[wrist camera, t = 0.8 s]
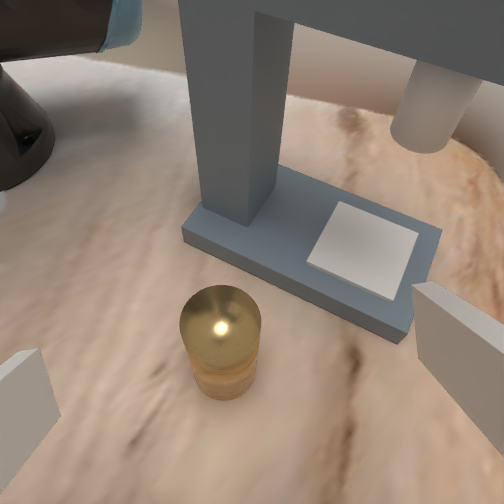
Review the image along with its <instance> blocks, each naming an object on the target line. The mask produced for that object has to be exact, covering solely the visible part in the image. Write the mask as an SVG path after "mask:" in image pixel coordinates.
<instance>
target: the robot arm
mask: <svg viewBox="0 0 504 504" xmlns="http://www.w3.org/2000/svg"><path fill="white" fill-rule="evenodd" d="M141 25H142V0H0V63H1V62H9V61H18V60H28V59H37V58H47V57H56V56H66V55H75V54H84V53H94V52H96V53H102V52H103V51H105V50H107V49H112V48H117V47H123V46H127V45H130V44H132V43H133V42H134V41H135V40H136V39H137V38H138V36H139V34H140V31H141ZM53 145H54V132H53V129H52V126H51V124H50V122H49V120H48V118H47V116H46V114H45V113H44V111H43V110H42V108H41V107H40V106H39V105H38V104H37V103H36V102H35V101H34V100H33V99H32V98H31V97H30V96H29V95H28V94H27V93H26V92H25V91H24V90H23V89H22V88H21V87H20V86H19V85H18V84H17V83H16V82H15V81H14V80H13V79H12V78H11V77H10V76H9V75H8V74H7V73H6V72H5V71H4V69H3V67H2V66H1V64H0V192H1V191H3V190H6V189H8V188H10V187H13V186H15V185H17V184H18V183H20V182H22V181H23V180H25V179H27V178H28V177H29V176H31V175H32V174H33V173H35V172H36V171H37V170H38V169H39V168H40V167H41V166H42V165H43V164H44V162H45V161H46V160H47V158H48V157H49V155H50V153H51V151H52V149H53ZM411 290H412V300H413V310H414V320H415V330H416V340H417V350H418V359H419V360H420V361H421V362H422V363H423V364H424V366H425V367H426V368H427V369H428V370H429V371H430V372H431V374H432V375H433V376H434V377H435V378H436V379H437V381H438V382H439V383H440V384H441V385H442V386H443V388H444V389H445V390H446V391H447V392H448V393H449V394H450V396H451V397H452V398H453V399H454V400H455V401H456V403H457V404H458V405H459V406H460V407H461V408H462V410H463V411H464V412H465V413H466V414H467V415H468V416H469V418H470V419H471V420H472V421H473V422H474V423H475V425H476V426H477V427H478V428H479V429H480V430H481V432H482V433H483V434H484V435H485V436H486V437H487V438H488V440H489V441H490V442H491V443H492V444H493V445H494V447H495V448H496V449H497V450H498V451H499V452H500V454H501V455H502V456H503V457H504V325H503V324H501V323H499V322H498V321H496V320H495V319H493V318H492V317H490V316H488V315H487V314H485V313H484V312H482V311H480V310H479V309H477V308H476V307H474V306H473V305H471V304H469V303H468V302H466V301H465V300H463V299H461V298H460V297H458V296H457V295H455V294H453V293H452V292H450V291H449V290H447V289H446V288H444V287H442V286H441V285H439V284H438V283H436V282H434V281H430V282H425V283H419V284H413V285H411ZM60 417H61V415H60V411H59V408H58V405H57V402H56V399H55V396H54V392H53V389H52V386H51V383H50V380H49V377H48V373H47V370H46V367H45V364H44V361H43V358H42V354H41V351H40V348H34V349H29V350H23V351H18V352H17V353H16V354H14V355H13V356H12V357H10V358H9V359H8V360H7V361H5V362H4V363H3V364H2V365H0V494H1V493H2V492H3V490H4V489H5V488H6V486H7V485H8V484H9V483H10V481H11V480H12V479H13V477H14V476H15V475H16V474H17V472H18V471H19V470H20V468H21V467H22V466H23V465H24V463H25V462H26V461H27V459H28V458H29V457H30V455H31V454H32V453H33V452H34V450H35V449H36V448H37V446H38V445H39V444H40V443H41V441H42V440H43V439H44V437H45V436H46V435H47V433H48V432H49V431H50V430H51V428H52V427H53V426H54V424H55V423H56V422H57V421H58V419H59V418H60Z"/></svg>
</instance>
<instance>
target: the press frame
mask: <svg viewBox="0 0 504 504" xmlns="http://www.w3.org/2000/svg"><path fill="white" fill-rule="evenodd" d="M178 5H179V13H180V21H181V29H182V38H183V46H184V55H185V63H186V71H187V80H188V88H189V97H190V105H191V113H192V122H193V130H194V138H195V147H196V155H197V164H198V172H199V180H200V189H201V197H202V201H201V203H200V204H199V205H198V206H197V208H196V209H195V210H194V211H193V213H192V214H191V215H190V216H189V218H188V219H187V220H186V221H185V223H184V224H183V225H182V226H181V228H182V233H183V238H184V242H186V243H188V244H190V245H192V246H194V247H196V248H198V249H201V250H203V251H205V252H207V253H209V254H211V255H213V256H215V257H217V258H219V259H221V260H223V261H225V262H228V263H230V264H232V265H234V266H236V267H238V268H240V269H242V270H244V271H246V272H248V273H250V274H252V275H255V276H257V277H259V278H261V279H263V280H265V281H267V282H269V283H271V284H273V285H275V286H277V287H279V288H282V289H284V290H286V291H288V292H290V293H292V294H294V295H296V296H298V297H300V298H302V299H304V300H306V301H309V302H311V303H313V304H315V305H317V306H319V307H321V308H323V309H325V310H327V311H329V312H331V313H333V314H335V315H338V316H340V317H342V318H344V319H346V320H348V321H350V322H352V323H354V324H356V325H358V326H360V327H362V328H365V329H367V330H369V331H371V332H373V333H375V334H377V335H379V336H381V337H383V338H385V339H387V340H389V341H392V342H394V343H396V344H398V343H399V342H400V341H401V340H402V339H403V338H404V337H405V336H406V335H407V334H408V332H409V329H410V326H411V323H412V320H413V317H414V310H413V300H412V290H411V285H413V284H419V283H425V281H426V278H427V275H428V272H429V269H430V266H431V263H432V260H433V257H434V254H435V251H436V248H437V245H438V242H439V239H440V236H441V233H442V229H439V228H437V227H434V226H432V225H429V224H427V223H424V222H422V221H419V220H417V219H414V218H412V217H409V216H407V215H404V214H402V213H399V212H397V211H394V210H392V209H389V208H387V207H384V206H382V205H379V204H377V203H374V202H372V201H369V200H367V199H364V198H362V197H359V196H357V195H354V194H352V193H349V192H347V191H344V190H342V189H339V188H337V187H334V186H332V185H329V184H327V183H324V182H322V181H319V180H317V179H314V178H312V177H309V176H307V175H304V174H302V173H299V172H297V171H294V170H292V169H289V168H287V167H284V166H282V165H279V164H278V161H279V152H280V143H281V135H282V126H283V117H284V109H285V100H286V91H287V82H288V74H289V65H290V56H291V47H292V39H293V30H294V23H297V24H300V25H304V26H307V27H310V28H314V29H317V30H320V31H323V32H327V33H330V34H333V35H337V36H340V37H343V38H347V39H350V40H354V41H357V42H360V43H363V44H367V45H370V46H373V47H377V48H380V49H383V50H386V51H390V52H393V53H396V54H400V55H403V56H406V57H410V58H413V59H416V60H417V61H416V64H415V66H414V69H413V71H412V74H411V76H410V79H409V81H408V84H407V86H406V89H405V91H404V94H403V96H402V99H401V101H400V104H399V107H398V109H397V111H396V114H395V116H394V119H393V121H392V124H391V127H390V132H391V135H392V137H393V139H394V140H395V141H396V142H397V143H398V144H399V145H401V146H402V147H404V148H406V149H408V150H410V151H413V152H417V153H435V152H438V151H440V150H442V149H443V148H444V147H445V146H446V144H447V142H448V141H449V139H450V137H451V135H452V134H453V132H454V130H455V128H456V127H457V125H458V123H459V121H460V120H461V118H462V116H463V114H464V112H465V111H466V109H467V107H468V106H469V104H470V102H471V100H472V99H473V97H474V95H475V93H476V92H477V90H478V88H479V86H480V85H481V83H482V81H483V80H486V81H489V82H492V83H496V84H499V85H502V86H504V0H178Z"/></svg>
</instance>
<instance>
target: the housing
mask: <svg viewBox="0 0 504 504" xmlns="http://www.w3.org/2000/svg"><path fill="white" fill-rule="evenodd" d="M260 329H261V315H260V311H259V309H258V306H257V305H256V303H255V301H254V300H253V299H252V298H251V297H250V296H249V295H248V294H247V293H245V292H244V291H242V290H241V289H238V288H236V287H232V286H227V285H216V286H211V287H207V288H205V289H203V290H201V291H199V292H197V293H196V294H195V295H193V296H192V297H191V298H190V299H189V300H188V302H187V303H186V305H185V306H184V308H183V310H182V313H181V316H180V332H181V336H182V339H183V342H184V345H185V348H186V351H187V354H188V357H189V360H190V363H191V366H192V369H193V372H194V375H195V378H196V381H197V383H198V385H199V387H200V389H201V390H202V391H203V392H204V393H205V394H206V395H208V396H209V397H211V398H214V399H217V400H232V399H235V398H237V397H239V396H241V395H242V394H244V393H245V392H246V391H247V390H248V389H249V387H250V386H251V384H252V382H253V380H254V376H255V370H256V362H257V354H258V346H259V338H260Z"/></svg>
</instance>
